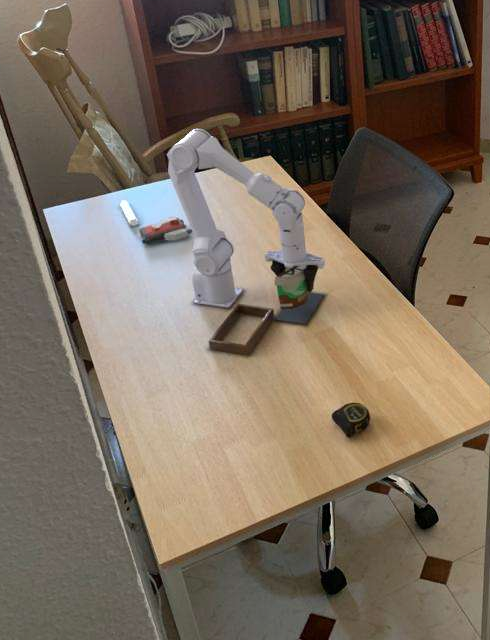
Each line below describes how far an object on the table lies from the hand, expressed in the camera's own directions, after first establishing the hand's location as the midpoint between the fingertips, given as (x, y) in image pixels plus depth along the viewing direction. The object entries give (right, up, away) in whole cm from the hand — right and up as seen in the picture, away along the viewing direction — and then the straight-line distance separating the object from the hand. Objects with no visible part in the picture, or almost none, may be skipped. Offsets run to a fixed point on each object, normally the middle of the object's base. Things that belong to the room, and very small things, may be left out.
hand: (297, 288), depth 195 cm
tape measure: (+17, -28, -33) cm, 46 cm away
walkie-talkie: (-41, +16, +32) cm, 55 cm away
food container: (0, -3, +2) cm, 4 cm away
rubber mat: (0, -5, +3) cm, 6 cm away
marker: (-59, +20, +43) cm, 76 cm away
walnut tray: (-12, -10, -6) cm, 17 cm away
